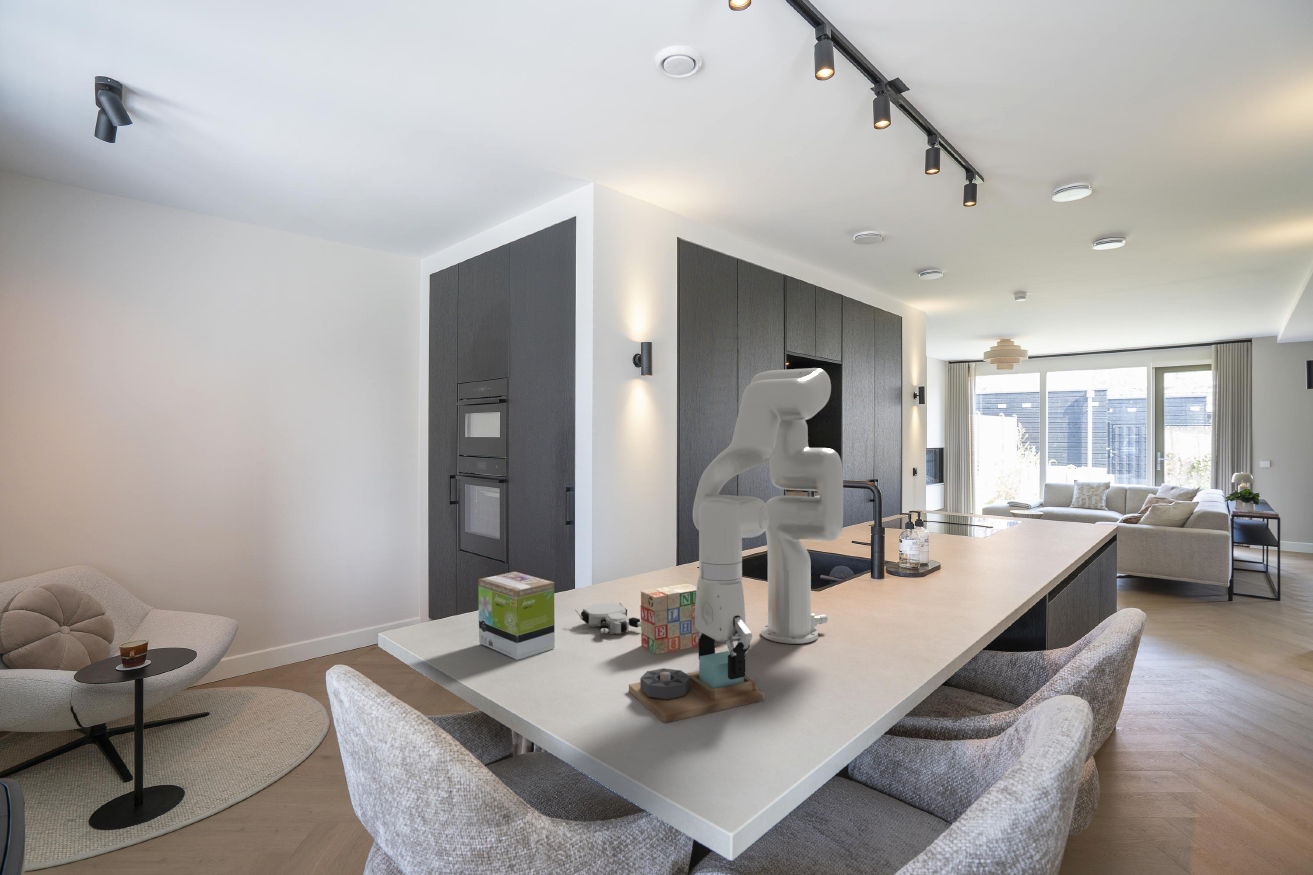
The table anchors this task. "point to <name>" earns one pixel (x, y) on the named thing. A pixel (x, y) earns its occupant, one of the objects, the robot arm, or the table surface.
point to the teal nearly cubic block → (716, 670)
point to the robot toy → (608, 617)
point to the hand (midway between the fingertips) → (721, 668)
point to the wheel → (665, 684)
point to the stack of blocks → (668, 618)
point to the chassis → (698, 698)
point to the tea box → (516, 614)
